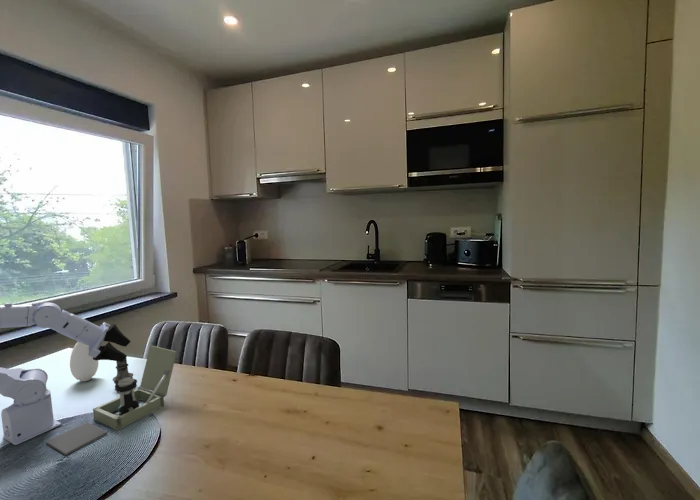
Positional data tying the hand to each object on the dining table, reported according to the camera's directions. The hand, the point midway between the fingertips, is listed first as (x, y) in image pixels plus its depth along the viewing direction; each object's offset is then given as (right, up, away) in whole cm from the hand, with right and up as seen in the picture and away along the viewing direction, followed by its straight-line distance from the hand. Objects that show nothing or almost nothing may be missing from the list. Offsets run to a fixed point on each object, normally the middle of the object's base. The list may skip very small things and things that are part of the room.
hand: (126, 351), depth 103 cm
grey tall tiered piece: (-8, -15, +10) cm, 20 cm away
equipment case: (+6, -16, -3) cm, 17 cm away
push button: (+4, -17, -6) cm, 18 cm away
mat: (-1, -18, -17) cm, 24 cm away
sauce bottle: (-25, -15, +16) cm, 33 cm away
